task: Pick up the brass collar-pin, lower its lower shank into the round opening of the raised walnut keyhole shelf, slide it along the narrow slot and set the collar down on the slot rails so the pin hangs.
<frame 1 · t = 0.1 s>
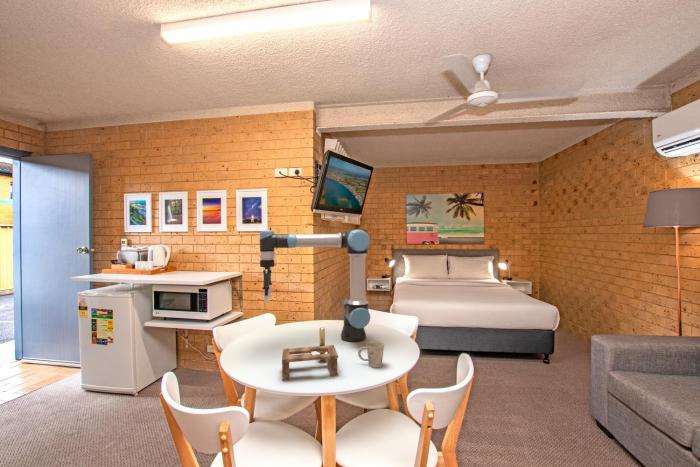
hand: (267, 299, 173), 28 cm above the table, fingers open, 13 cm apart
pin: (322, 360, 159), on the table
mug: (370, 365, 154), on the table
keyhole shelf: (309, 372, 146), on the table
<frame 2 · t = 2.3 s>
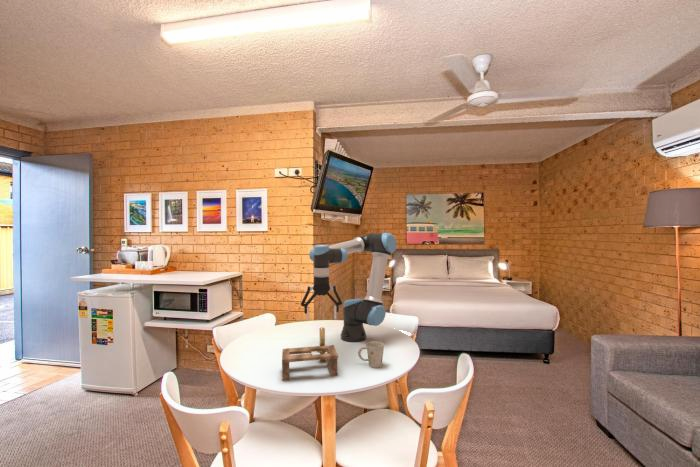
hand: (321, 319, 159), 20 cm above the table, fingers open, 13 cm apart
nothing on the table moved.
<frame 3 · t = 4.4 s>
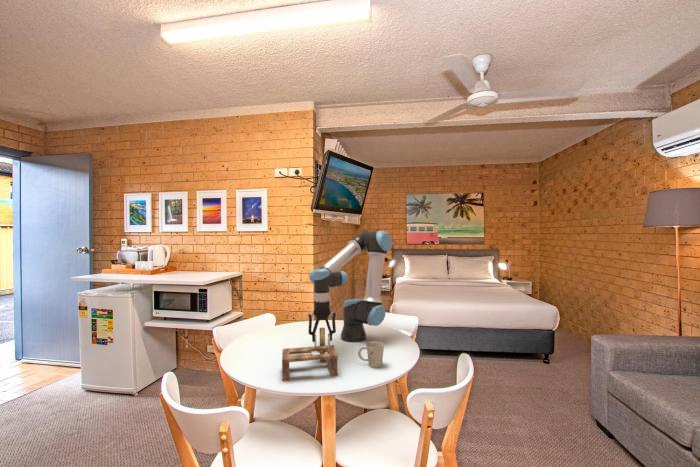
hand: (322, 347, 159), 6 cm above the table, fingers closed on pin, 6 cm apart
pin: (322, 360, 159), on the table, touching gripper
everything else where it was.
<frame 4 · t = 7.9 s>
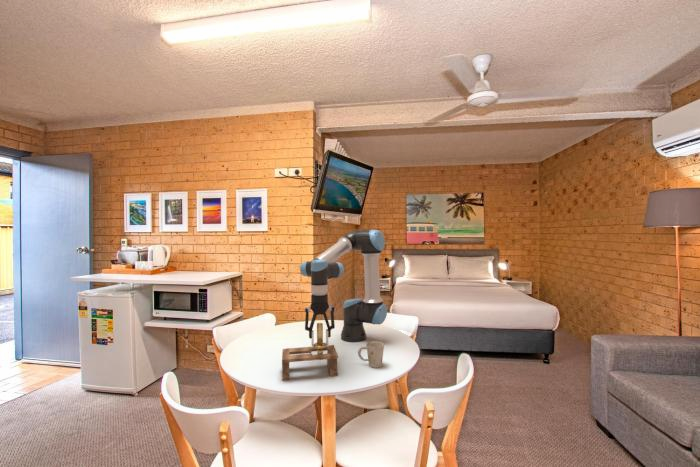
hand: (319, 344, 147), 12 cm above the table, fingers closed on pin, 6 cm apart
pin: (320, 358, 147), point 6 cm above the table, touching gripper
everything else where it was.
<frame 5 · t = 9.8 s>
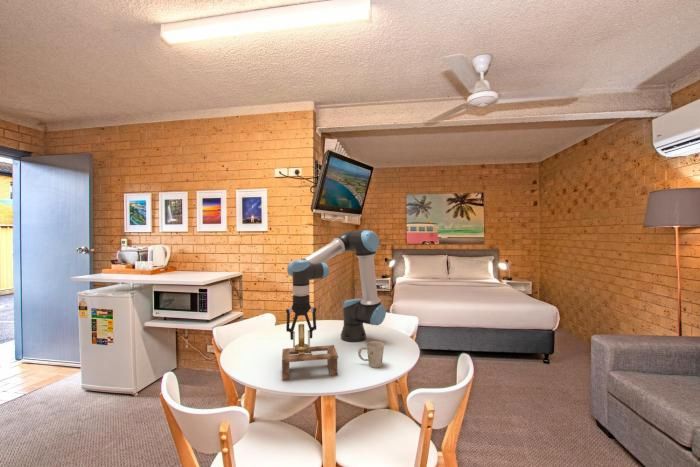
hand: (301, 346, 146), 12 cm above the table, fingers closed on pin, 6 cm apart
pin: (301, 360, 146), point 6 cm above the table, touching gripper
everything else where it was.
when the fingers open (11 cm above the table, at t = 11.4 s): pin stays where it is, resting on keyhole shelf.
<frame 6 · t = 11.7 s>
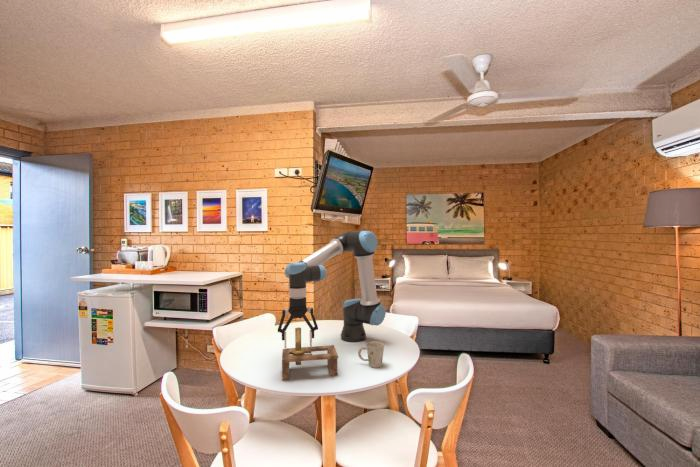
hand: (298, 346, 145), 12 cm above the table, fingers open, 10 cm apart
pin: (298, 364, 145), point 4 cm above the table, touching keyhole shelf
everything else where it was.
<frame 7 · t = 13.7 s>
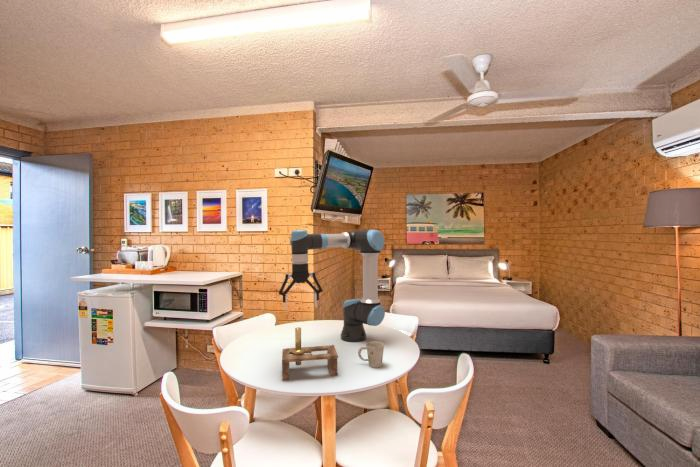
hand: (301, 308, 152), 27 cm above the table, fingers open, 13 cm apart
nothing on the table moved.
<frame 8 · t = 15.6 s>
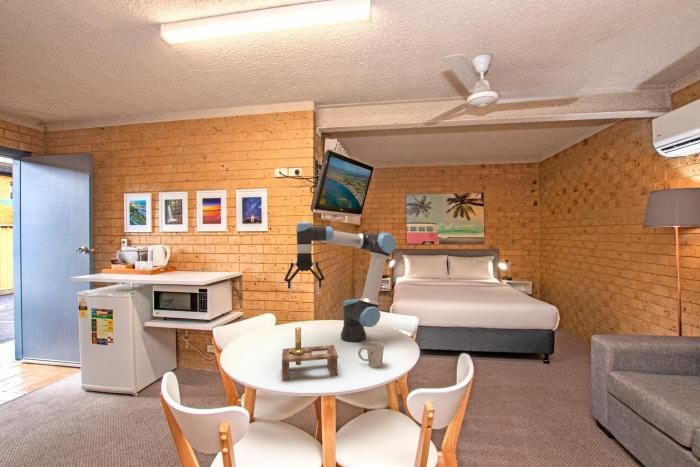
hand: (304, 294, 165), 32 cm above the table, fingers open, 13 cm apart
nothing on the table moved.
at the end: pin inside the target area on the keyhole shelf (0.5 cm from its centre), point 4.0 cm above the keyhole shelf's base; pin touching keyhole shelf; pin tilted 0° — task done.
